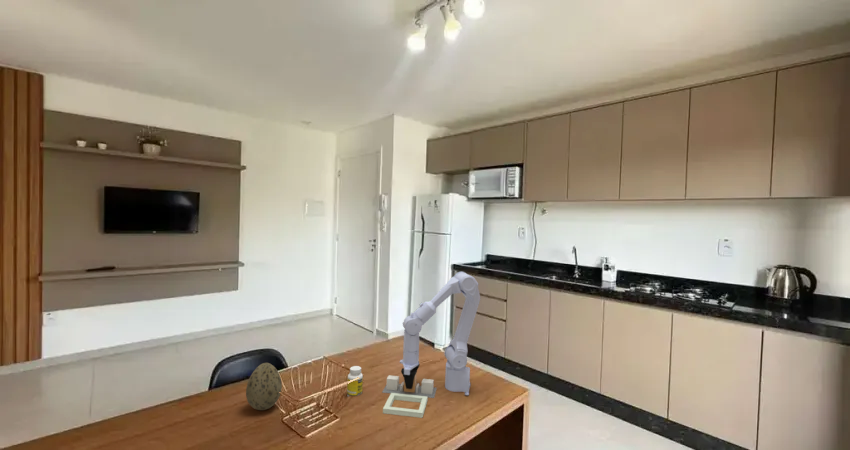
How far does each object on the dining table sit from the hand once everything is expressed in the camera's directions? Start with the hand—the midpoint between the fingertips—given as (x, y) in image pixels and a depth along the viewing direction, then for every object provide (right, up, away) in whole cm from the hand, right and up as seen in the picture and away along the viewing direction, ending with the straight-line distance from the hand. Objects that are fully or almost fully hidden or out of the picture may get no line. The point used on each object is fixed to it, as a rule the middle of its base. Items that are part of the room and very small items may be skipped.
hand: (410, 386), depth 136 cm
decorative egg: (-48, -1, -14) cm, 50 cm away
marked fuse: (0, -1, 0) cm, 1 cm away
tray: (-1, -3, -12) cm, 12 cm away
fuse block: (0, -2, 0) cm, 2 cm away
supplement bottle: (-20, -2, -3) cm, 20 cm away
